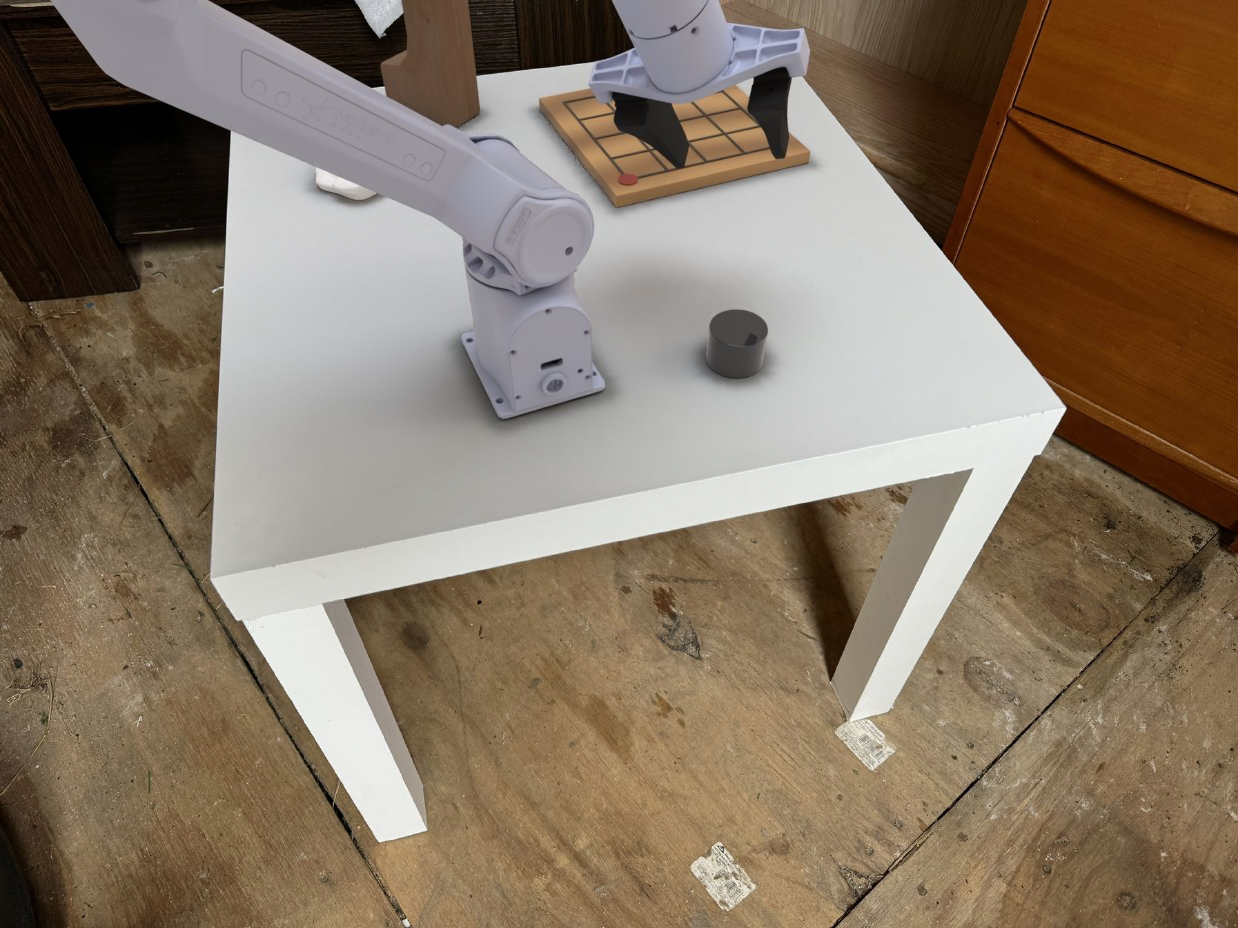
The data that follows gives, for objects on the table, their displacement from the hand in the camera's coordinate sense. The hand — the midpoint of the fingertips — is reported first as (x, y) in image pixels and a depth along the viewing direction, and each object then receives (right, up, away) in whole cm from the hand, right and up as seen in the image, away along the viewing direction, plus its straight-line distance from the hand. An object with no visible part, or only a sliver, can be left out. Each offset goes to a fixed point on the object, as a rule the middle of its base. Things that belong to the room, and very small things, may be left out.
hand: (731, 152), depth 64 cm
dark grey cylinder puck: (0, -15, +1) cm, 15 cm away
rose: (-31, +4, +18) cm, 36 cm away
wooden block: (-27, +13, +26) cm, 40 cm away
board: (-3, +10, +23) cm, 25 cm away
